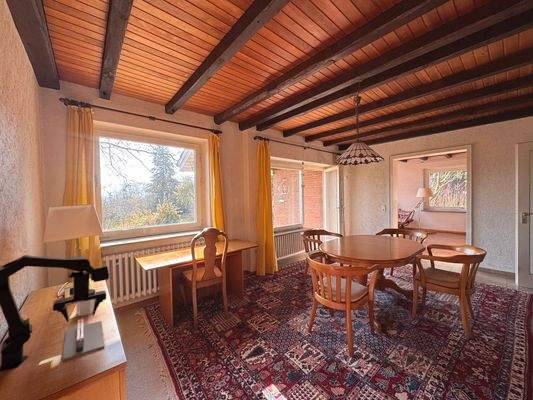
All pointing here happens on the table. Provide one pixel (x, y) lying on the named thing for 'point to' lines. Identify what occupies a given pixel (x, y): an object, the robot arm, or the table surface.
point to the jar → (86, 305)
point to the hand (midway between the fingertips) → (81, 318)
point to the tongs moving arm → (81, 328)
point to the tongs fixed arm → (79, 340)
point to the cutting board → (91, 340)
